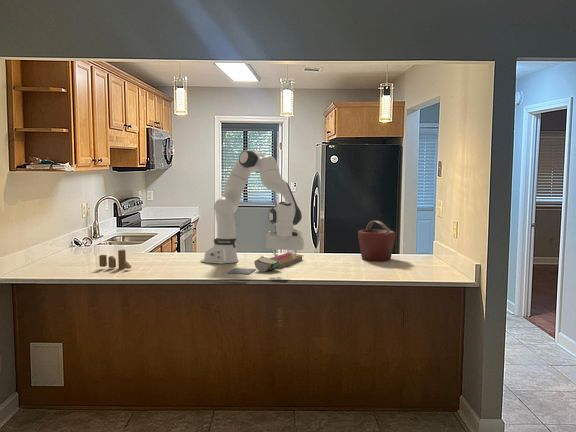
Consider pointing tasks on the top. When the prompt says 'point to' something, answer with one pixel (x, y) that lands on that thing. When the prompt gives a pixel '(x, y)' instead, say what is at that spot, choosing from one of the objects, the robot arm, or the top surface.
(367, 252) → the bucket
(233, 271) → the mat
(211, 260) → the robot arm
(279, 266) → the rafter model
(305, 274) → the top surface
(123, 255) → the wooden block set
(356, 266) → the top surface
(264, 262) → the food container
